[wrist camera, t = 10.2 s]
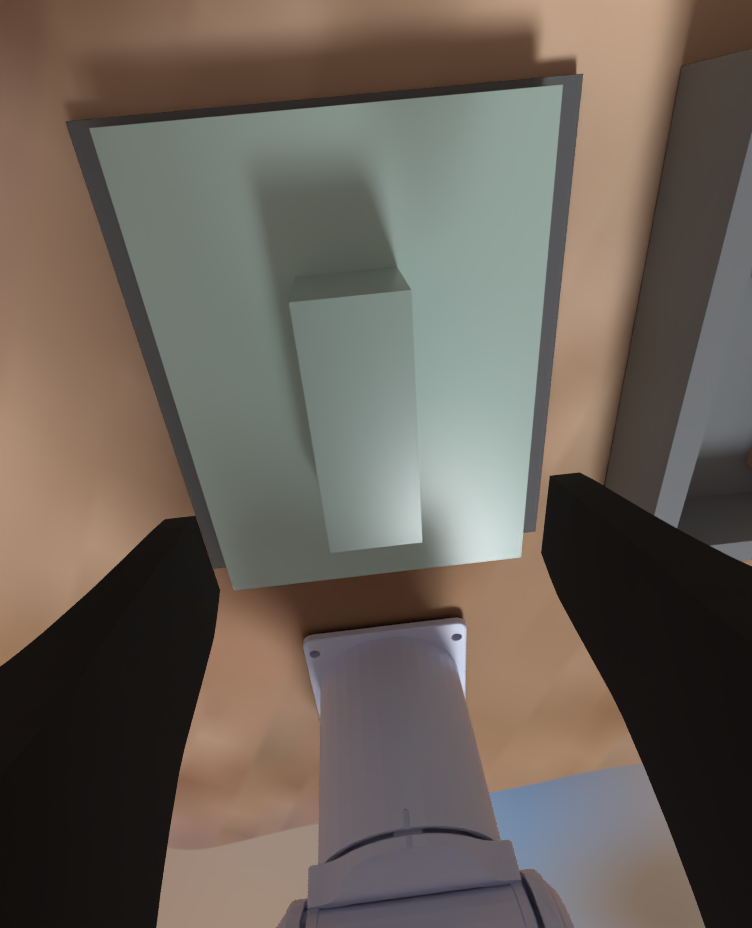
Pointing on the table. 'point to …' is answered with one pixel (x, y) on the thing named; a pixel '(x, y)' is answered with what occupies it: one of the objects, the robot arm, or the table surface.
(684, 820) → the robot arm
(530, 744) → the table surface
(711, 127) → the storage box
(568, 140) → the mat
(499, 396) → the lid
